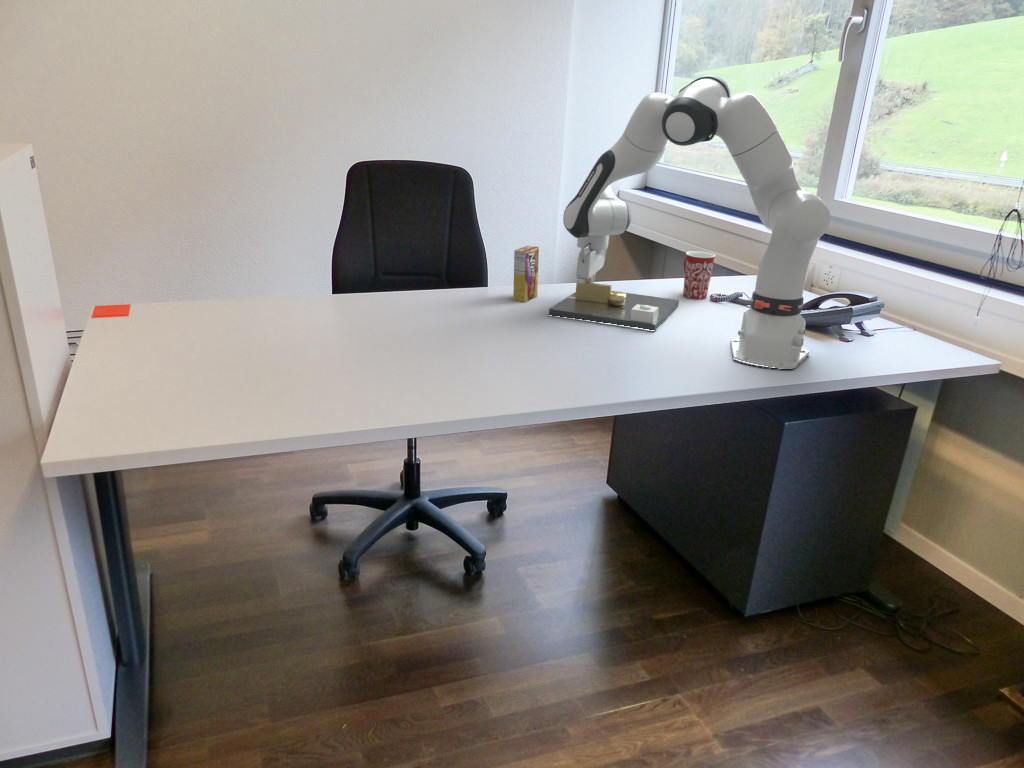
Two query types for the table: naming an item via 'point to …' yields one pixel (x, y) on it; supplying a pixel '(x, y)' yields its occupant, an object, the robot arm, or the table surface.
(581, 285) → the brass lever knob
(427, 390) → the table surface
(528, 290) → the candy box
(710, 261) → the mug
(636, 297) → the base plate
